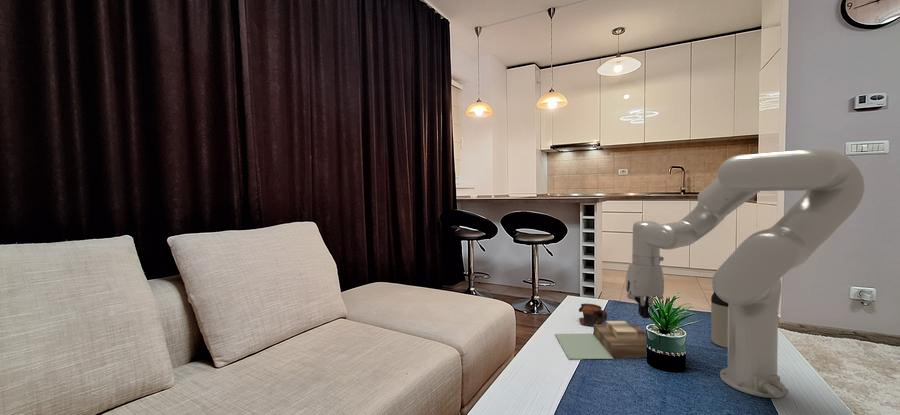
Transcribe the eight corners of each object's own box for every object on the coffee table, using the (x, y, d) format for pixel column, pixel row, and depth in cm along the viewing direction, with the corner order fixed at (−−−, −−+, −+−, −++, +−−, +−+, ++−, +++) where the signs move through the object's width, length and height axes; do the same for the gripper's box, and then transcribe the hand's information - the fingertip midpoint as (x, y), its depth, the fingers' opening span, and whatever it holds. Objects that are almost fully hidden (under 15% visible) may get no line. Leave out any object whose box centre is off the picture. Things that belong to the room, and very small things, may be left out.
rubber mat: (613, 359, 103) (613, 358, 103) (568, 359, 104) (568, 358, 104) (592, 334, 121) (592, 333, 121) (554, 334, 122) (554, 333, 122)
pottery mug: (571, 323, 133) (573, 302, 136) (588, 330, 137) (589, 308, 140) (599, 325, 123) (600, 301, 126) (616, 331, 127) (616, 309, 130)
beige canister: (735, 352, 105) (736, 293, 104) (706, 342, 112) (706, 287, 111) (748, 345, 109) (748, 288, 108) (718, 336, 116) (718, 283, 115)
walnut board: (660, 357, 103) (660, 344, 103) (612, 357, 104) (611, 344, 104) (635, 335, 119) (635, 323, 119) (593, 335, 120) (593, 324, 120)
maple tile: (637, 339, 107) (637, 331, 107) (617, 339, 107) (617, 331, 107) (624, 328, 116) (624, 320, 116) (606, 328, 116) (606, 321, 116)
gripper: (663, 257, 113) (662, 312, 115) (616, 257, 114) (615, 312, 116) (677, 263, 106) (675, 321, 107) (626, 263, 107) (625, 321, 108)
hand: (644, 316), depth 111 cm, fingers closed
